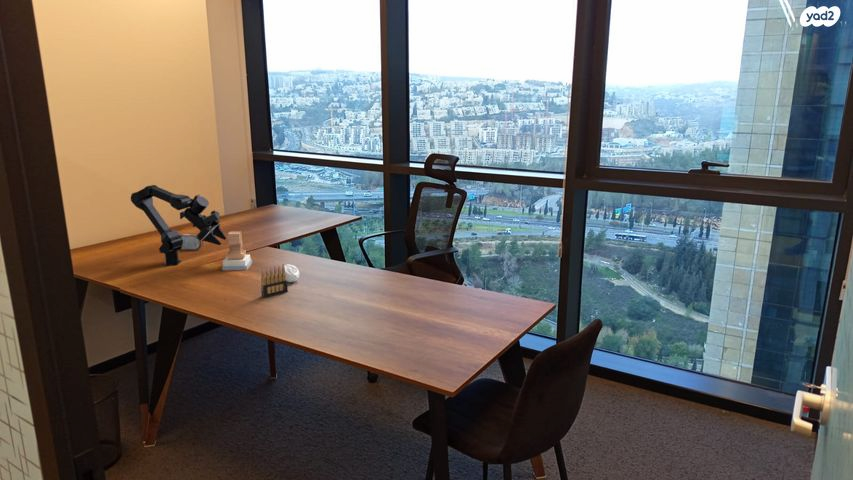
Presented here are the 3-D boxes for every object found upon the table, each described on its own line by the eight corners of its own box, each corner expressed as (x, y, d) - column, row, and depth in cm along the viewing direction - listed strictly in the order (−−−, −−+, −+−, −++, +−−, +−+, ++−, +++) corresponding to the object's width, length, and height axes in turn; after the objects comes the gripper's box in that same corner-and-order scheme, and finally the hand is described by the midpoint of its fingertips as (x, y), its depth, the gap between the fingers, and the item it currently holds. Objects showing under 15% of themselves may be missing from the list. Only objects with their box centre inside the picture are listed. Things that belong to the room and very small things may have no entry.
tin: (204, 249, 300) (202, 233, 298) (201, 251, 297) (199, 235, 295) (176, 248, 301) (174, 232, 299) (173, 250, 298) (171, 234, 296)
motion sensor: (294, 285, 247) (293, 268, 245) (278, 284, 248) (277, 267, 246) (302, 279, 254) (301, 262, 252) (286, 278, 256) (285, 261, 254)
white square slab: (245, 265, 267) (244, 260, 266) (223, 266, 267) (222, 260, 266) (250, 259, 277) (250, 254, 276) (229, 259, 276) (228, 254, 276)
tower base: (247, 271, 267) (246, 266, 267) (222, 271, 266) (222, 266, 266) (252, 264, 278) (251, 259, 277) (228, 264, 277) (228, 259, 276)
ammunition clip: (285, 290, 241) (284, 263, 237) (288, 291, 239) (286, 264, 236) (261, 296, 234) (259, 268, 231) (263, 297, 233) (261, 269, 229)
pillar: (243, 259, 268) (241, 234, 265) (227, 259, 267) (225, 234, 264) (245, 255, 275) (243, 230, 272) (230, 255, 274) (228, 231, 271)
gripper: (201, 210, 255) (229, 234, 258) (213, 202, 273) (239, 224, 276) (185, 228, 256) (213, 252, 260) (198, 218, 274) (224, 241, 278)
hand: (223, 241), depth 268 cm, fingers open, 9 cm apart
